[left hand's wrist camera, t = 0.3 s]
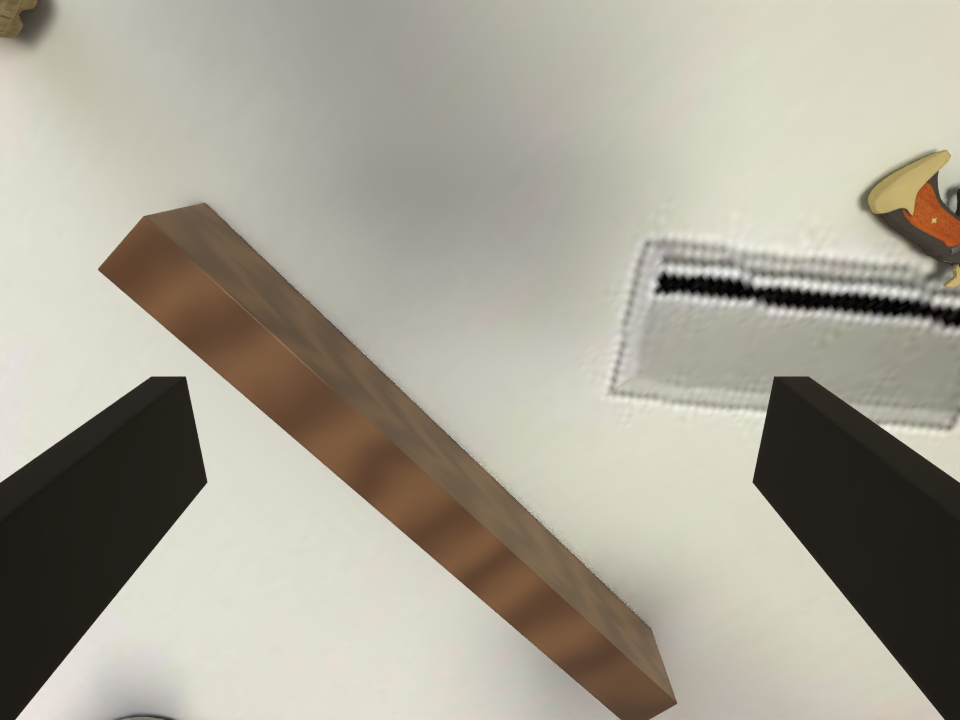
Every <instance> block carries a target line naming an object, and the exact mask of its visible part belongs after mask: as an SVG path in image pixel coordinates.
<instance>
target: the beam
mask: <svg viewBox="0 0 960 720" xmlns="http://www.w3.org/2000/svg"><path fill="white" fill-rule="evenodd" d="M98 270H99V271H100V272H101V273H102V274H103V275H104V276H106V277H107V278H108V279H109V280H110V281H111V282H113V283H114V284H115V285H116V286H117V287H118V288H120V289H121V290H122V291H123V292H124V293H125V294H127V295H128V296H129V297H130V298H131V299H132V300H134V301H135V302H136V303H137V304H138V305H139V306H141V307H142V308H143V309H144V310H145V311H146V312H148V313H149V314H150V315H151V316H152V317H153V318H154V319H156V320H157V321H158V322H159V323H160V324H161V325H163V326H164V327H165V328H166V329H167V330H168V331H170V332H171V333H172V334H173V335H174V336H175V337H177V338H178V339H179V340H180V341H181V342H182V343H184V344H185V345H186V346H187V347H188V348H189V349H191V350H192V351H193V352H194V353H195V354H196V355H198V356H199V357H200V358H201V359H202V360H203V361H205V362H206V363H207V364H208V365H209V366H210V367H211V368H213V369H214V370H215V371H216V372H217V373H218V374H220V375H221V376H222V377H223V378H224V379H225V380H227V381H228V382H229V383H230V384H231V385H232V386H234V387H235V388H236V389H237V390H238V391H239V392H241V393H242V394H243V395H244V396H245V397H246V398H248V399H249V400H250V401H251V402H252V403H253V404H255V405H256V406H257V407H258V408H259V409H260V410H261V411H263V412H264V413H265V414H266V415H267V416H268V417H270V418H271V419H272V420H273V421H274V422H275V423H277V424H278V425H279V426H280V427H281V428H282V429H284V430H285V431H286V432H287V433H288V434H289V435H291V436H292V437H293V438H294V439H295V440H296V441H298V442H299V443H300V444H301V445H302V446H303V447H305V448H306V449H307V450H308V451H309V452H310V453H312V454H313V455H314V456H315V457H316V458H317V459H318V460H320V461H321V462H322V463H323V464H324V465H325V466H327V467H328V468H329V469H330V470H331V471H332V472H334V473H335V474H336V475H337V476H338V477H339V478H341V479H342V480H343V481H344V482H345V483H346V484H348V485H349V486H350V487H351V488H352V489H353V490H355V491H356V492H357V493H358V494H359V495H360V496H362V497H363V498H364V499H365V500H366V501H367V502H369V503H370V504H371V505H372V506H373V507H374V508H375V509H377V510H378V511H379V512H380V513H381V514H382V515H384V516H385V517H386V518H387V519H388V520H389V521H391V522H392V523H393V524H394V525H395V526H396V527H398V528H399V529H400V530H401V531H402V532H403V533H405V534H406V535H407V536H408V537H409V538H410V539H412V540H413V541H414V542H415V543H416V544H417V545H419V546H420V547H421V548H422V549H423V550H424V551H426V552H427V553H428V554H429V555H430V556H431V557H432V558H434V559H435V560H436V561H437V562H438V563H439V564H441V565H442V566H443V567H444V568H445V569H446V570H448V571H449V572H450V573H451V574H452V575H453V576H455V577H456V578H457V579H458V580H459V581H460V582H462V583H463V584H464V585H465V586H466V587H467V588H469V589H470V590H471V591H472V592H473V593H474V594H476V595H477V596H478V597H479V598H480V599H481V600H482V601H484V602H485V603H486V604H487V605H488V606H489V607H491V608H492V609H493V610H494V611H495V612H496V613H498V614H499V615H500V616H501V617H502V618H503V619H505V620H506V621H507V622H508V623H509V624H510V625H512V626H513V627H514V628H515V629H516V630H517V631H519V632H520V633H521V634H522V635H523V636H524V637H526V638H527V639H528V640H529V641H530V642H531V643H533V644H534V645H535V646H536V647H537V648H538V649H539V650H541V651H542V652H543V653H544V654H545V655H546V656H548V657H549V658H550V659H551V660H552V661H553V662H555V663H556V664H557V665H558V666H559V667H560V668H562V669H563V670H564V671H565V672H566V673H567V674H569V675H570V676H571V677H572V678H573V679H574V680H576V681H577V682H578V683H579V684H580V685H581V686H583V687H584V688H585V689H586V690H587V691H588V692H590V693H591V694H592V695H593V696H594V697H595V698H596V699H598V700H599V701H600V702H601V703H602V704H603V705H605V706H606V707H607V708H608V709H609V710H610V711H612V712H613V713H614V714H615V715H616V716H617V717H619V718H620V719H621V720H649V719H651V718H653V717H655V716H656V715H658V714H660V713H662V712H663V711H665V710H667V709H669V708H670V707H672V706H674V705H676V704H677V701H676V699H675V696H674V693H673V690H672V687H671V684H670V681H669V679H668V676H667V673H666V670H665V667H664V664H663V661H662V659H661V656H660V653H659V650H658V647H657V644H656V642H655V639H654V636H653V633H652V630H651V629H650V628H649V627H648V626H647V625H646V624H645V623H644V622H643V621H642V620H641V619H640V618H639V617H638V616H637V615H636V614H635V613H634V612H633V611H632V610H630V609H629V608H628V607H627V606H626V605H625V604H624V603H623V602H622V601H621V600H620V599H619V598H618V597H617V596H616V595H615V594H614V593H613V592H612V591H611V590H610V589H608V588H607V587H606V586H605V585H604V584H603V583H602V582H601V581H600V580H599V579H598V578H597V577H596V576H595V575H594V574H593V573H592V572H591V571H590V570H589V569H588V568H586V567H585V566H584V565H583V564H582V563H581V562H580V561H579V560H578V559H577V558H576V557H575V556H574V555H573V554H572V553H571V552H570V551H569V550H568V549H567V548H566V547H564V546H563V545H562V544H561V543H560V542H559V541H558V540H557V539H556V538H555V537H554V536H553V535H552V534H551V533H550V532H549V531H548V530H547V529H546V528H545V527H544V526H543V525H541V524H540V523H539V522H538V521H537V520H536V519H535V518H534V517H533V516H532V515H531V514H530V513H529V512H528V511H527V510H526V509H525V508H524V507H523V506H522V505H521V504H519V503H518V502H517V501H516V500H515V499H514V498H513V497H512V496H511V495H510V494H509V493H508V492H507V491H506V490H505V489H504V488H503V487H502V486H501V485H500V484H499V483H497V482H496V481H495V480H494V479H493V478H492V477H491V476H490V475H489V474H488V473H487V472H486V471H485V470H484V469H483V468H482V467H481V466H480V465H479V464H478V463H477V462H475V461H474V460H473V459H472V458H471V457H470V456H469V455H468V454H467V453H466V452H465V451H464V450H463V449H462V448H461V447H460V446H459V445H458V444H457V443H456V442H455V441H454V440H452V439H451V438H450V437H449V436H448V435H447V434H446V433H445V432H444V431H443V430H442V429H441V428H440V427H439V426H438V425H437V424H436V423H435V422H434V421H433V420H432V419H430V418H429V417H428V416H427V415H426V414H425V413H424V412H423V411H422V410H421V409H420V408H419V407H418V406H417V405H416V404H415V403H414V402H413V401H412V400H411V399H410V398H408V397H407V396H406V395H405V394H404V393H403V392H402V391H401V390H400V389H399V388H398V387H397V386H396V385H395V384H394V383H393V382H392V381H391V380H390V379H389V378H388V377H386V376H385V375H384V374H383V373H382V372H381V371H380V370H379V369H378V368H377V367H376V366H375V365H374V364H373V363H372V362H371V361H370V360H369V359H368V358H367V357H366V356H365V355H363V354H362V353H361V352H360V351H359V350H358V349H357V348H356V347H355V346H354V345H353V344H352V343H351V342H350V341H349V340H348V339H347V338H346V337H345V336H344V335H343V334H341V333H340V332H339V331H338V330H337V329H336V328H335V327H334V326H333V325H332V324H331V323H330V322H329V321H328V320H327V319H326V318H325V317H324V316H323V315H322V314H321V313H319V312H318V311H317V310H316V309H315V308H314V307H313V306H312V305H311V304H310V303H309V302H308V301H307V300H306V299H305V298H304V297H303V296H302V295H301V294H300V293H299V292H297V291H296V290H295V289H294V288H293V287H292V286H291V285H290V284H289V283H288V282H287V281H286V280H285V279H284V278H283V277H282V276H281V275H280V274H279V273H278V272H277V271H276V270H274V269H273V268H272V267H271V266H270V265H269V264H268V263H267V262H266V261H265V260H264V259H263V258H262V257H261V256H260V255H259V254H258V253H257V252H256V251H255V250H254V249H252V248H251V247H250V246H249V245H248V244H247V243H246V242H245V241H244V240H243V239H242V238H241V237H240V236H239V235H238V234H237V233H236V232H235V231H234V230H233V229H232V228H230V227H229V226H228V225H227V224H226V223H225V222H224V221H223V220H222V219H221V218H220V217H219V216H218V215H217V214H216V213H215V212H214V211H213V210H212V209H211V208H210V207H209V206H207V205H206V204H205V203H202V204H197V205H193V206H188V207H184V208H179V209H174V210H170V211H165V212H161V213H156V214H152V215H147V216H143V218H142V219H141V220H140V221H139V222H138V223H137V224H136V226H135V227H134V228H133V229H132V230H131V231H130V233H129V234H128V235H127V236H126V237H125V238H124V240H123V241H122V242H121V243H120V244H119V245H118V246H117V248H116V249H115V250H114V251H113V252H112V253H111V255H110V256H109V257H108V258H107V259H106V260H105V261H104V263H103V264H102V265H101V266H100V267H99V268H98Z"/></svg>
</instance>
